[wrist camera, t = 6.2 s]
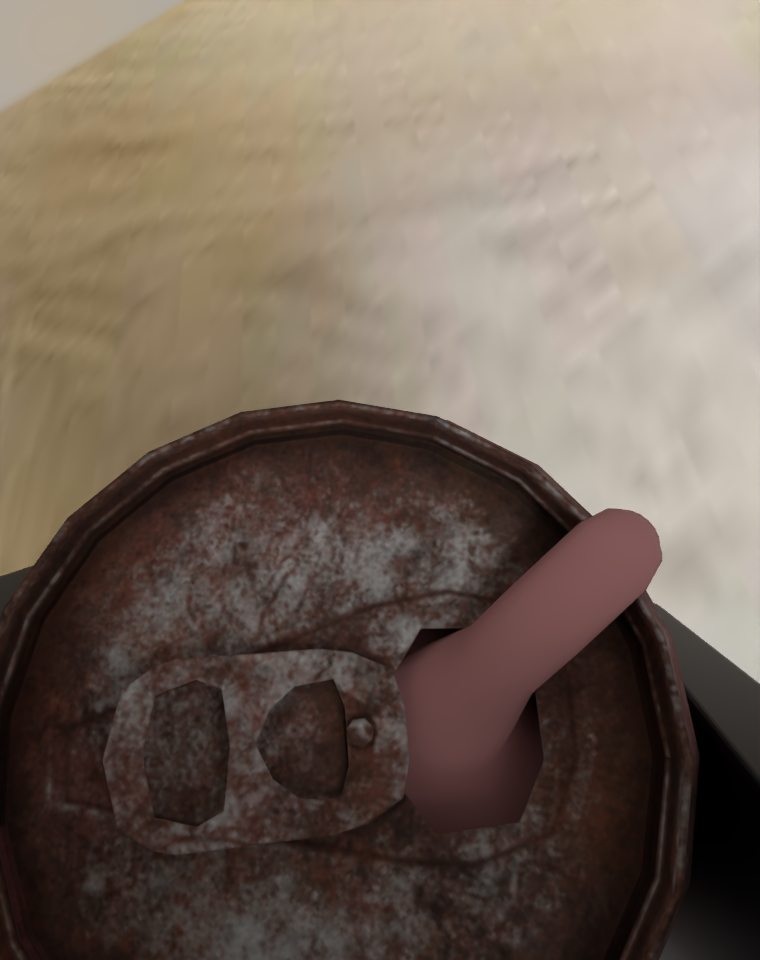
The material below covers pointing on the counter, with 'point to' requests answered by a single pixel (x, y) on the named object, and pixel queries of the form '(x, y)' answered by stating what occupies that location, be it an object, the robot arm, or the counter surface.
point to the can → (342, 709)
